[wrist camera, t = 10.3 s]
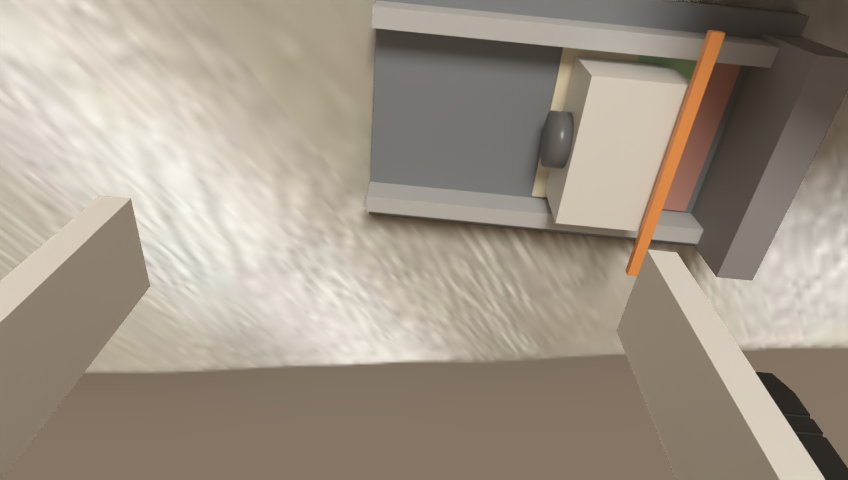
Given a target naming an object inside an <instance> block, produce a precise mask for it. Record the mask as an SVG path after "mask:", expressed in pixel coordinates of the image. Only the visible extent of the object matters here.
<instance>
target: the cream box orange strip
mask: <svg viewBox="0 0 848 480" xmlns="http://www.w3.org/2000/svg"><path fill="white" fill-rule="evenodd" d="M725 34H726V33H724V32H722V31H713V30H708V32H707V35H706V38H705V41H704V44H703V47H702V50H701V53H700V56H699V59H698V61H697V64H696V67H695V70H694V73H693V76H692V79H691V81H690V80H689V79H687V78H686V77H684V76H683V75H682V74H680V73H679V72H678V71H676V70H675V69H673V68H672V67H671V66H669V65H661V64H651V63H641V62H631V61H622V60H612V59H602V58H592V57H582V56H576V57H575V61H574V65H573V70H572V74H571V79H570V83H569V87H568V92H567V96H566V101H565V105H564V109H563V111H553V110H551V111H549V113H548V115H547V117H546V120H545V123H544V127H543V132H542V139H541V149H540V159H541V165H542V166H543V167H550V171H549V176H548V180H547V184H546V189H545V192H546V195H547V198H548V201H549V204H550V207H551V211H552V214H553V217H554V220H555V223H559V224H569V225H579V226H589V227H599V228H610V229H620V230H630V231H639V233H638V236H637V239H636V242H635V245H634V248H633V251H632V253H631V256H630V259H629V262H628V265H627V268H626V273H627V275H634V276H638V273H639V270H640V268H641V265H642V262H643V260H644V257H645V254H646V252H647V249H648V247H649V244H650V242H651V239H652V236H653V233H654V230H655V228H656V225H657V222H658V219H659V217H660V214H661V211H662V208H663V205H664V203H665V200H666V197H667V194H668V192H669V189H670V186H671V183H672V181H673V178H674V175H675V172H676V169H677V167H678V164H679V161H680V158H681V156H682V153H683V150H684V147H685V144H686V142H687V139H688V136H689V133H690V131H691V128H692V125H693V122H694V120H695V117H696V114H697V111H698V108H699V106H700V103H701V100H702V97H703V95H704V92H705V89H706V86H707V83H708V81H709V78H710V75H711V72H712V70H713V67H714V64H715V61H716V58H717V56H718V53H719V50H720V47H721V45H722V42H723V39H724V36H725Z"/></svg>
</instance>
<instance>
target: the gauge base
mask: <svg viewBox="0 0 848 480" xmlns="http://www.w3.org/2000/svg"><path fill="white" fill-rule="evenodd" d="M808 18H809V16H807V15H804V14H800V13H794V12H784V11H774V10H764V9H754V8H745V7H735V6H725V5H715V4H705V3H695V2H685V1H675V0H377V1H376V3H375V4H374V5H373V6H372V28H376V49H375V76H374V102H373V128H372V154H371V181H370V185H369V188H368V191H367V195H366V211H369V214H374V215H384V216H394V217H404V218H415V219H425V220H435V221H445V222H455V223H465V224H475V225H485V226H496V227H506V228H516V229H526V230H536V231H546V232H556V233H567V234H577V235H587V236H597V237H607V238H617V239H627V240H636V239H637V236H638V233H639V231H630V230H620V229H610V228H599V227H589V226H579V225H569V224H559V223H555V220H554V217H553V214H552V211H551V207H550V204H549V201H548V198H547V195H546V192H545V189H546V184H547V180H548V176H549V171H550V167H543V166H542V165H541V159H540V149H541V139H542V132H543V127H544V123H545V120H546V117H547V115H548V113H549V111H551V110H553V111H563V109H564V105H565V101H566V96H567V92H568V87H569V83H570V79H571V74H572V70H573V65H574V61H575V57H576V56H582V57H592V58H602V59H612V60H622V61H631V62H641V63H651V64H661V65H669V66H671V67H672V68H673V69H675V70H676V71H678V72H679V73H680V74H682V75H683V76H684V77H686V78H687V79H689V80H690V81H691V79H692V76H693V73H694V70H695V67H696V64H697V61H698V59H699V56H700V53H701V50H702V47H703V44H704V41H705V38H706V35H707V32H708V30H713V31H722V32H724V33H726V34H725V36H724V39H723V42H722V45H721V47H720V50H719V53H718V56H717V58H716V61H715V64H714V67H713V70H712V72H711V75H710V78H709V81H708V83H707V86H706V89H705V92H704V95H703V97H702V100H701V103H700V106H699V108H698V111H697V114H696V117H695V120H694V122H693V125H692V128H691V131H690V133H689V136H688V139H687V142H686V144H685V147H684V150H683V153H682V156H681V158H680V161H679V164H678V167H677V169H676V172H675V175H674V178H673V181H672V183H671V186H670V189H669V192H668V194H667V197H666V200H665V203H664V205H663V208H662V211H661V214H660V217H659V219H658V222H657V225H656V228H655V230H654V233H653V236H652V239H651V242H658V243H668V244H678V245H688V246H695V247H696V249H697V250H698V252H699V253H700V254H701V256H702V257H703V259H704V260H705V261H706V263H707V264H708V266H709V267H710V269H711V270H712V271H713V273H714V274H715V276H716V277H722V278H732V279H742V280H753V278H754V276H755V274H756V272H757V270H758V268H759V266H760V264H761V262H762V260H763V258H764V256H765V254H766V252H767V250H768V248H769V246H770V244H771V242H772V240H773V238H774V236H775V234H776V232H777V230H778V228H779V226H780V224H781V222H782V220H783V218H784V216H785V214H786V212H787V210H788V208H789V206H790V204H791V202H792V200H793V198H794V196H795V194H796V192H797V190H798V188H799V186H800V184H801V182H802V180H803V178H804V176H805V174H806V172H807V170H808V168H809V166H810V164H811V162H812V160H813V158H814V156H815V154H816V152H817V150H818V148H819V146H820V144H821V142H822V140H823V138H824V136H825V134H826V132H827V130H828V128H829V126H830V124H831V122H832V120H833V118H834V116H835V114H836V112H837V110H838V108H839V106H840V104H841V102H842V100H843V98H844V96H845V94H846V92H847V90H848V54H846V53H843V52H840V51H838V50H835V49H832V48H830V47H827V46H824V45H821V44H819V43H816V42H813V41H811V40H808V39H805V38H803V37H801V34H802V32H803V30H804V27H805V25H806V23H807V20H808Z"/></svg>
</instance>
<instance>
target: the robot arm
mask: <svg viewBox="0 0 848 480" xmlns="http://www.w3.org/2000/svg"><path fill="white" fill-rule="evenodd" d="M149 287H150V283H149V279H148V274H147V270H146V265H145V261H144V256H143V252H142V247H141V243H140V238H139V234H138V229H137V225H136V220H135V216H134V211H133V206H132V202H131V199H130V198H119V197H109V196H99V197H98V198H97V199H95V200H94V201H93V202H92V203H91V204H90V205H88V206H87V207H86V208H85V209H84V210H83V211H81V212H80V213H79V214H78V215H77V216H76V217H74V218H73V219H72V220H71V221H70V222H69V223H67V224H66V225H65V226H64V227H63V228H62V229H60V230H59V231H58V232H57V233H56V234H54V235H53V236H52V237H51V238H50V239H49V240H47V241H46V242H45V243H44V244H43V245H42V246H40V247H39V248H38V249H37V250H36V251H35V252H33V253H32V254H31V255H30V256H29V257H28V258H26V259H25V260H24V261H23V262H22V263H21V264H19V265H18V266H17V267H16V268H15V269H14V270H12V271H11V272H10V273H9V274H8V275H7V276H5V277H4V278H3V279H2V280H1V281H0V480H2V479H3V478H4V476H5V475H6V474H7V472H8V471H9V470H10V468H11V467H12V466H13V465H14V463H15V462H16V461H17V459H18V458H19V457H20V455H21V454H22V453H23V451H24V450H25V449H26V448H27V446H28V445H29V444H30V442H31V441H32V439H34V437H35V436H36V435H37V433H38V432H39V431H40V429H41V428H42V427H43V425H44V424H45V423H46V422H47V420H48V419H49V418H50V416H51V415H52V414H53V412H54V411H55V410H56V408H57V407H58V406H59V404H60V403H61V402H62V401H63V399H64V398H65V397H66V395H67V394H68V393H69V391H70V390H71V389H72V388H73V386H74V385H75V384H76V382H77V381H78V380H79V378H80V377H81V375H82V374H83V373H84V372H85V371H86V369H87V368H88V367H89V365H90V364H91V363H92V361H93V360H94V359H95V358H96V356H97V355H98V354H99V352H100V351H101V350H102V348H103V347H104V346H105V344H106V343H107V342H108V341H109V339H110V338H111V337H112V335H113V334H114V333H115V331H116V330H117V329H118V327H119V326H120V325H121V324H122V322H123V321H124V320H125V318H126V317H127V316H128V314H129V313H130V312H131V310H132V309H133V308H134V307H135V305H136V304H137V303H138V301H139V300H140V299H141V297H142V296H143V295H144V293H145V292H146V291H147V290H148V288H149ZM617 332H618V335H619V337H620V340H621V342H622V345H623V348H624V350H625V353H626V355H627V358H628V360H629V363H630V365H631V368H632V370H633V373H634V375H635V378H636V380H637V383H638V385H639V388H640V390H641V393H642V396H643V398H644V400H645V403H646V406H647V408H648V410H649V413H650V416H651V418H652V421H653V423H654V426H655V428H656V431H657V433H658V436H659V438H660V441H661V443H662V446H663V448H664V451H665V454H666V456H667V459H668V461H669V464H670V466H671V469H672V471H673V474H674V476H675V479H676V480H848V468H847V467H846V465H845V464H844V463H843V461H842V459H841V458H840V457H839V455H838V454H837V452H836V451H835V449H834V448H833V447H832V445H831V444H830V442H829V441H828V440H827V438H825V437H823V436H822V434H823V432H822V431H821V430H820V428H819V427H818V425H817V424H816V423H815V421H814V420H813V419H810V414H809V413H808V411H807V410H806V408H805V407H804V406H803V404H802V403H801V401H800V400H799V398H798V397H797V396H796V394H795V393H794V392H793V391H792V390H790V389H789V388H788V387H787V386H786V385H785V384H784V383H782V382H781V381H780V380H779V379H778V378H776V377H775V376H774V375H773V374H772V373H762V372H755V371H754V370H753V368H752V367H751V365H750V364H749V362H748V360H747V359H746V357H745V356H744V355H743V353H742V351H741V350H740V348H739V347H738V345H737V344H736V342H735V341H734V339H733V338H732V336H731V334H730V333H729V331H728V330H727V328H726V327H725V325H724V324H723V322H722V321H721V319H720V318H719V316H718V315H717V313H716V312H715V310H714V308H713V307H712V305H711V304H710V302H709V301H708V299H707V298H706V296H705V295H704V293H703V292H702V290H701V289H700V287H699V286H698V284H697V282H696V281H695V279H694V278H693V276H692V275H691V273H690V272H689V270H688V269H687V267H686V266H685V264H684V263H683V261H682V260H681V258H680V256H679V255H678V253H677V252H668V251H658V250H648V249H647V252H646V254H645V257H644V260H643V262H642V265H641V268H640V270H639V273H638V276H637V278H636V281H635V283H634V286H633V289H632V291H631V294H630V297H629V299H628V302H627V305H626V307H625V310H624V313H623V315H622V318H621V321H620V323H619V326H618V329H617Z"/></svg>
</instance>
